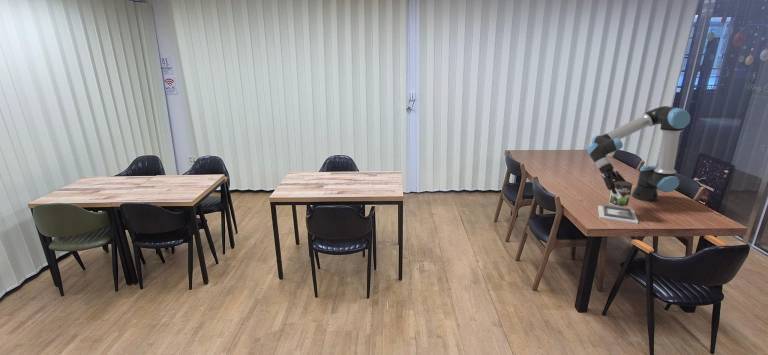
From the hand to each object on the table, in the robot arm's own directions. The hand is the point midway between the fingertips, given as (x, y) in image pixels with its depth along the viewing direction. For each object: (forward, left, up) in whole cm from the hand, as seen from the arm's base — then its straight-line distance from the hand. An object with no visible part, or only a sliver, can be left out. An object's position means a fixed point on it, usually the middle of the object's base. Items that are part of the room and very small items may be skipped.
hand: (625, 196), depth 221 cm
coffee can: (+3, -2, -6) cm, 7 cm away
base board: (+2, -2, -13) cm, 14 cm away
